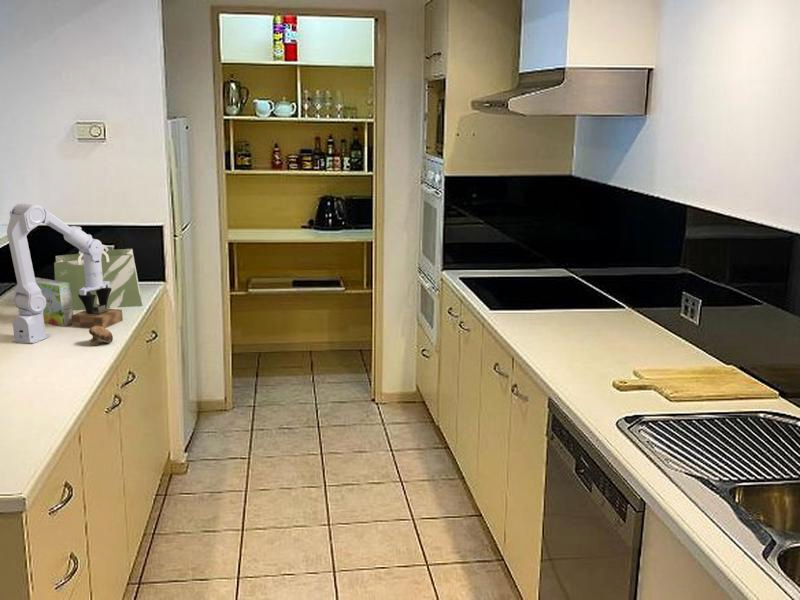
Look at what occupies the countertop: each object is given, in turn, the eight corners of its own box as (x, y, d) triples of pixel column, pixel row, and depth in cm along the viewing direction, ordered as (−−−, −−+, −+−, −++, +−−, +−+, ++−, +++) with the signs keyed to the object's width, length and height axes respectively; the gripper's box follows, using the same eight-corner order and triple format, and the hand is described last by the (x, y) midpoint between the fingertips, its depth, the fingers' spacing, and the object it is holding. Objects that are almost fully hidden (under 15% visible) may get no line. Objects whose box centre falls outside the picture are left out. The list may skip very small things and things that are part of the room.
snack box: (21, 319, 295) (16, 278, 291) (34, 316, 300) (30, 275, 296) (62, 327, 285) (58, 284, 282) (75, 323, 290) (71, 281, 286)
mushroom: (81, 338, 260) (91, 321, 262) (84, 341, 268) (94, 324, 270) (105, 349, 262) (115, 332, 263) (107, 352, 269) (117, 335, 271)
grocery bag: (52, 312, 305) (46, 250, 300) (55, 303, 318) (50, 244, 313) (142, 306, 314) (138, 246, 309) (142, 298, 327) (138, 240, 322)
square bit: (99, 325, 288) (98, 307, 286) (89, 324, 288) (88, 306, 287) (106, 322, 291) (105, 304, 290) (96, 322, 292) (95, 304, 291)
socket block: (102, 329, 283) (101, 318, 282) (72, 326, 286) (71, 315, 285) (122, 320, 294) (121, 309, 293) (93, 318, 297) (92, 307, 296)
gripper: (90, 277, 278) (94, 316, 281) (115, 269, 292) (118, 306, 295) (72, 276, 280) (76, 315, 283) (98, 268, 293) (101, 305, 296)
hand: (96, 310), depth 289 cm, fingers open, 7 cm apart
